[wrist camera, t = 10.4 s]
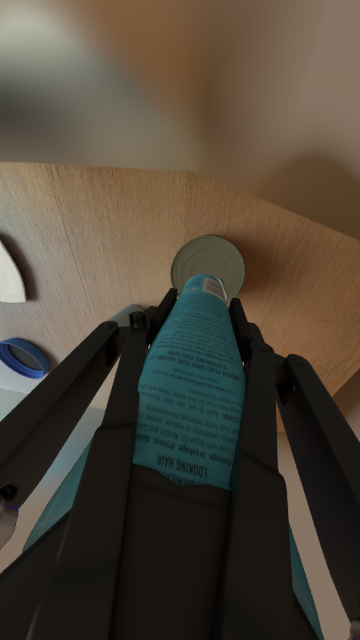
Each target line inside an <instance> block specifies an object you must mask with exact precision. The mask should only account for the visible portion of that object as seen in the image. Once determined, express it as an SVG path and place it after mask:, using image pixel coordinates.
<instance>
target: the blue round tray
mask: <svg viewBox="0 0 360 640" xmlns="http://www.w3.org/2000/svg"><path fill="white" fill-rule="evenodd" d="M0 360H1V361H2V362H3V363H4V364H5V365H7V366H8V367H9V368H10V369H12V370H13V371H15V372H17V373H18V374H20V375H22V376H25V377H28V378H32V379H40V378H42V377H43V376H44V375H45V374H46V372H47V371H48V370H49V367H50V364H49V361H48V359H47V358H46V356H45V355H44V354H43V353H42V352H41V351H40V350H39V349H38V348H36V347H35V346H34V345H32V344H30V343H28V342H26V341H24V340H21V339H17V338H11V339H8V340H4V341H1V342H0Z"/></svg>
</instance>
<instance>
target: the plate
mask: <svg viewBox="0 0 360 640" xmlns="http://www.w3.org/2000/svg"><path fill="white" fill-rule="evenodd" d="M0 301H3V302H9V303H20V302H26V293H25V287H24V283H23V279H22V277H21V274H20V272H19V270H18V268H17V266H16V264H15V262H14V261H13V259H12V257H11V256H10V254H9V253H8V251H7V249H6V248H5V246H4V245H3V243H2V242H1V240H0Z"/></svg>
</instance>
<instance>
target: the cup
mask: <svg viewBox="0 0 360 640" xmlns="http://www.w3.org/2000/svg"><path fill="white" fill-rule="evenodd" d="M135 311H143V309H142V308H141V307H139V306H137V305H129V306H127V307H126V308H124V309H123V310H121V311H120V312H118V313H117V314H115V315H114V316H112V317H111V318H109V319H108V320H106V321H115V322H117V323H118V325H119V326H129V314H130V313H132V312H135ZM143 312H144V311H143ZM106 321H105V322H106Z"/></svg>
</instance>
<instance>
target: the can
mask: <svg viewBox="0 0 360 640" xmlns="http://www.w3.org/2000/svg"><path fill="white" fill-rule="evenodd" d="M198 274H209V275H212V276H214V277H215V278H217V279H218V280H219V281H220V283H221V285H222V287H223V291H224V294H225V298H226V303H227V304H228V303H229V302H230V301H231V299H232V298H235V297H236V296H237V294H238V293H239V291H240V290H241V288H242V286H243V283H244V279H245V263H244V260H243V257H242V255H241V253H240V252H239V250H238V249H237V248H236V247H235V246H234V245H233V244H232V243H231V242H230V241H228V240H226V239H225V238H223V237H221V236H218V235H203V236H199V237H197V238H194V239H192V240H190V241H189V242H187V243H186V244H185V245H183V246H182V247H181V248H180V250H179V251H178V252H177V254H176V255H175V257H174V259H173V262H172V265H171V271H170V278H171V283H172V286H173V288H175V289H178V291H177V296H178V297H179V295H180V294H181V292H182V290H183V288H184V286H185V284H186V283H187V281H188V280H189V279H190V278H192V277H193V276H195V275H198Z"/></svg>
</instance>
